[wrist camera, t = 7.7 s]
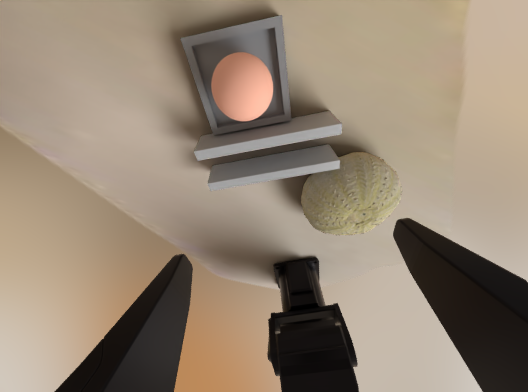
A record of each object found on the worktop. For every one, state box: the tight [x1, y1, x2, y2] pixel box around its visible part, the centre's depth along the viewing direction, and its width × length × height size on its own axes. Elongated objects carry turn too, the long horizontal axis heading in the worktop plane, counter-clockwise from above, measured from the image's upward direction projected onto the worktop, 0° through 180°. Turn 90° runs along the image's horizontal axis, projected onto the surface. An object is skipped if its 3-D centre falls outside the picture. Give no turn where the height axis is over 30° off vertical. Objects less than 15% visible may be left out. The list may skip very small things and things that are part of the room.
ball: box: [211, 52, 273, 121], centre depth 14 cm, size 4×4×4 cm
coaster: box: [180, 15, 292, 135], centre depth 15 cm, size 6×6×1 cm
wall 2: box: [208, 144, 340, 191], centre depth 19 cm, size 1×11×3 cm, turn 100°
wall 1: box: [194, 111, 342, 161], centre depth 17 cm, size 1×11×3 cm, turn 100°
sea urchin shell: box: [301, 152, 402, 235], centre depth 21 cm, size 9×8×8 cm
